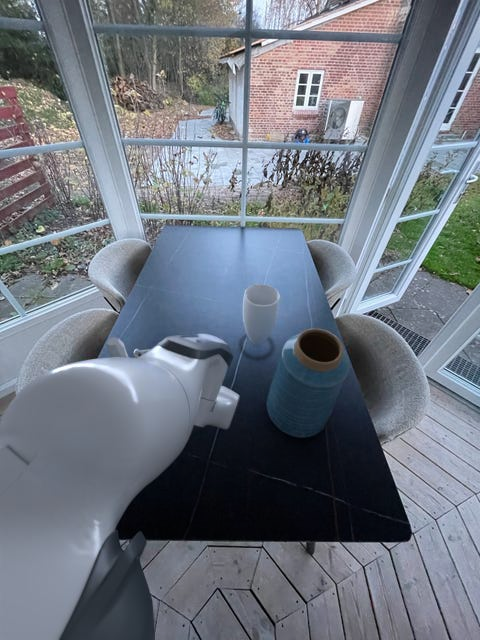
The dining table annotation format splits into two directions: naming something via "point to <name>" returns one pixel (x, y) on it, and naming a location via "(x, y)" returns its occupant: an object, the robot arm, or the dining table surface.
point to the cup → (260, 312)
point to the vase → (307, 382)
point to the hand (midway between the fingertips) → (122, 367)
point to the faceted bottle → (116, 348)
